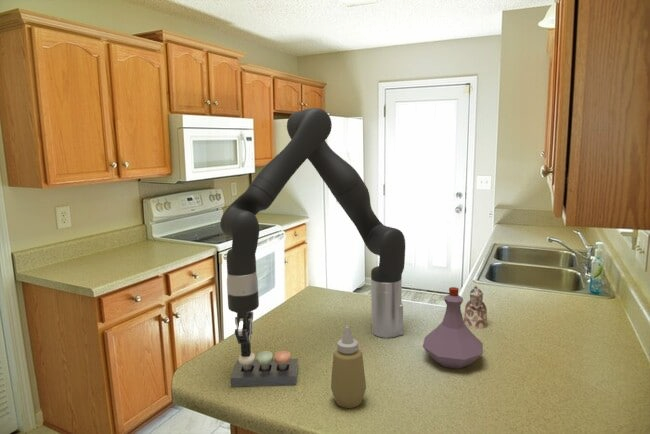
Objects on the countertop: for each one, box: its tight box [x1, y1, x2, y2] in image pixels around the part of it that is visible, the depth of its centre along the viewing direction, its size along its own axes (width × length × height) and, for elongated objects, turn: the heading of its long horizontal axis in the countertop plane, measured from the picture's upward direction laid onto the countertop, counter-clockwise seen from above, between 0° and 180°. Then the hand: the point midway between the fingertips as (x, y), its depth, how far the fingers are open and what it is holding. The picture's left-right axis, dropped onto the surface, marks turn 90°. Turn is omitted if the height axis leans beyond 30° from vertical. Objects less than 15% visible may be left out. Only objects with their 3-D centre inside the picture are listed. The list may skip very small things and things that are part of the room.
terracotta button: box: [273, 350, 291, 370], centre depth 113 cm, size 4×4×4 cm
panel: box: [229, 358, 299, 388], centre depth 114 cm, size 16×9×2 cm, turn 90°
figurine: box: [463, 285, 488, 330], centre depth 142 cm, size 7×7×12 cm
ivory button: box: [238, 351, 256, 371], centre depth 113 cm, size 4×4×4 cm
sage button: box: [256, 350, 274, 371], centre depth 113 cm, size 4×4×4 cm
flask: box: [422, 286, 484, 370], centre depth 118 cm, size 16×16×20 cm
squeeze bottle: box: [330, 325, 367, 409], centre depth 100 cm, size 8×8×18 cm
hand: (246, 355), depth 113 cm, fingers closed
